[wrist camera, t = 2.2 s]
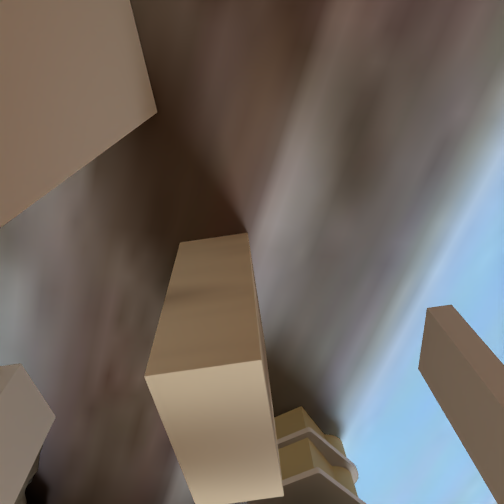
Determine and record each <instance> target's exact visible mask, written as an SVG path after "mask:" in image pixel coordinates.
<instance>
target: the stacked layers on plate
mask: <svg viewBox="0 0 504 504" xmlns="http://www.w3.org/2000/svg"><path fill="white" fill-rule="evenodd" d="M274 420H275V428H276V436H277V444H278V452H279V460H280V468H281V475H282V483H283V491H284V496H281V497H274V498H267V499H259V500H252V501H246V502H247V504H366V503H365V502H363V501H362V500H361V499H359V498H358V496H357V492H356V489H355V485H354V484H355V483H356V481H357V479H358V471H357V468H356V466H355V464H354V463H352V462H351V461H350V460H349V459H348V458H346V454H345V451H344V448H343V444H342V441H341V440H340V439H339V438H338V437H336V436H333V435H324V434H323V432H322V431H321V430H320V429H319V427H318V426H317V425H316V424H315V422H314V421H313V420H312V419H311V417H310V416H309V415H308V414H307V412H306V411H305V410H304V409H303V407H302V406H300V407H298V408H296V409H293V410H291V411H289V412H286V413H284V414H282V415H279V416H277V417H275V418H274Z"/></svg>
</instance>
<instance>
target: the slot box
mask: <svg viewBox="0 0 504 504" xmlns="http://www.w3.org/2000/svg"><path fill="white" fill-rule="evenodd" d="M156 113H157V108H156V104H155V100H154V96H153V92H152V88H151V84H150V80H149V76H148V72H147V68H146V64H145V60H144V56H143V52H142V48H141V44H140V40H139V36H138V32H137V28H136V24H135V20H134V16H133V11H132V7H131V3H130V0H0V228H1V227H2V226H4V225H5V224H6V223H8V222H9V221H10V220H12V219H13V218H14V217H16V216H17V215H18V214H20V213H21V212H23V211H24V210H25V209H27V208H28V207H29V206H31V205H32V204H33V203H35V202H36V201H38V200H39V199H40V198H42V197H43V196H44V195H46V194H47V193H48V192H50V191H51V190H52V189H54V188H55V187H57V186H58V185H59V184H61V183H62V182H63V181H65V180H66V179H67V178H69V177H70V176H72V175H73V174H74V173H76V172H77V171H78V170H80V169H81V168H82V167H84V166H85V165H86V164H88V163H89V162H91V161H92V160H93V159H95V158H96V157H97V156H99V155H100V154H101V153H103V152H104V151H106V150H107V149H108V148H110V147H111V146H112V145H114V144H115V143H116V142H118V141H119V140H120V139H122V138H123V137H125V136H126V135H127V134H129V133H130V132H131V131H133V130H134V129H135V128H137V127H138V126H140V125H141V124H142V123H144V122H145V121H146V120H148V119H149V118H150V117H152V116H153V115H154V114H156Z"/></svg>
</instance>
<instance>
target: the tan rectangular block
mask: <svg viewBox="0 0 504 504" xmlns="http://www.w3.org/2000/svg"><path fill="white" fill-rule="evenodd" d="M144 377H145V380H146V382H147V385H148V387H149V390H150V392H151V395H152V397H153V400H154V402H155V405H156V407H157V410H158V412H159V415H160V417H161V420H162V422H163V425H164V427H165V430H166V432H167V435H168V437H169V440H170V442H171V445H172V447H173V450H174V452H175V455H176V457H177V460H178V462H179V465H180V467H181V469H182V472H183V474H184V477H185V479H186V482H187V484H188V487H189V489H190V492H191V494H192V497H193V499H194V502H195V504H230V503H237V502H245V501H252V500H259V499H267V498H274V497H281V496H284V491H283V483H282V475H281V468H280V460H279V452H278V444H277V436H276V428H275V420H274V412H273V404H272V397H271V389H270V381H269V373H268V365H267V357H266V349H265V341H264V335H263V329H262V322H261V316H260V309H259V303H258V297H257V290H256V284H255V277H254V271H253V264H252V258H251V252H250V245H249V239H248V233H241V234H235V235H228V236H221V237H214V238H207V239H201V240H194V241H187V242H180V244H179V248H178V252H177V255H176V259H175V263H174V267H173V270H172V274H171V278H170V282H169V285H168V289H167V293H166V297H165V300H164V304H163V308H162V312H161V315H160V319H159V323H158V327H157V330H156V334H155V338H154V342H153V345H152V349H151V353H150V357H149V360H148V364H147V368H146V372H145V375H144Z"/></svg>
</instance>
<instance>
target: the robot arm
mask: <svg viewBox="0 0 504 504" xmlns="http://www.w3.org/2000/svg"><path fill="white" fill-rule="evenodd" d="M418 369H419V371H420V372H421V374H422V376H423V378H424V379H425V381H426V383H427V384H428V386H429V388H430V389H431V391H432V393H433V395H434V396H435V398H436V400H437V401H438V403H439V405H440V406H441V408H442V410H443V412H444V413H445V415H446V417H447V418H448V420H449V422H450V423H451V425H452V427H453V429H454V430H455V432H456V434H457V435H458V437H459V439H460V440H461V442H462V444H463V446H464V447H465V449H466V451H467V452H468V454H469V456H470V457H471V459H472V461H473V463H474V464H475V466H476V468H477V469H478V471H479V473H480V474H481V476H482V478H483V480H484V481H485V483H486V485H487V486H488V488H489V490H490V491H491V493H492V495H493V497H494V498H495V500H496V502H497V503H498V504H504V365H503V364H502V362H501V361H500V360H499V359H498V358H497V357H496V356H495V354H494V353H493V352H492V351H491V350H490V349H489V347H488V346H487V345H486V344H485V343H484V342H483V341H482V339H481V338H480V337H479V336H478V335H477V334H476V332H475V331H474V330H473V329H472V328H471V327H470V326H469V324H468V323H467V322H466V321H465V320H464V319H463V317H462V316H461V315H460V314H459V313H458V312H457V311H456V309H455V308H454V307H453V306H452V305H445V306H438V307H431V308H427V312H426V319H425V326H424V333H423V340H422V347H421V353H420V360H419V367H418ZM55 418H56V416H55V415H54V413H53V412H52V410H51V409H50V407H49V406H48V404H47V403H46V401H45V399H44V398H43V396H42V395H41V393H40V392H39V390H38V389H37V387H36V386H35V384H34V383H33V381H32V379H31V378H30V376H29V375H28V373H27V372H26V370H25V369H24V367H23V366H22V364H13V365H6V366H0V504H14V503H15V501H16V499H17V497H18V495H19V493H20V491H21V489H22V486H23V484H24V482H25V480H26V478H27V476H28V474H29V472H30V470H31V468H32V466H33V463H34V461H35V459H36V457H37V455H38V453H39V451H40V449H41V447H42V445H43V443H44V441H45V438H46V436H47V434H48V432H49V430H50V428H51V426H52V424H53V422H54V420H55Z"/></svg>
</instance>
